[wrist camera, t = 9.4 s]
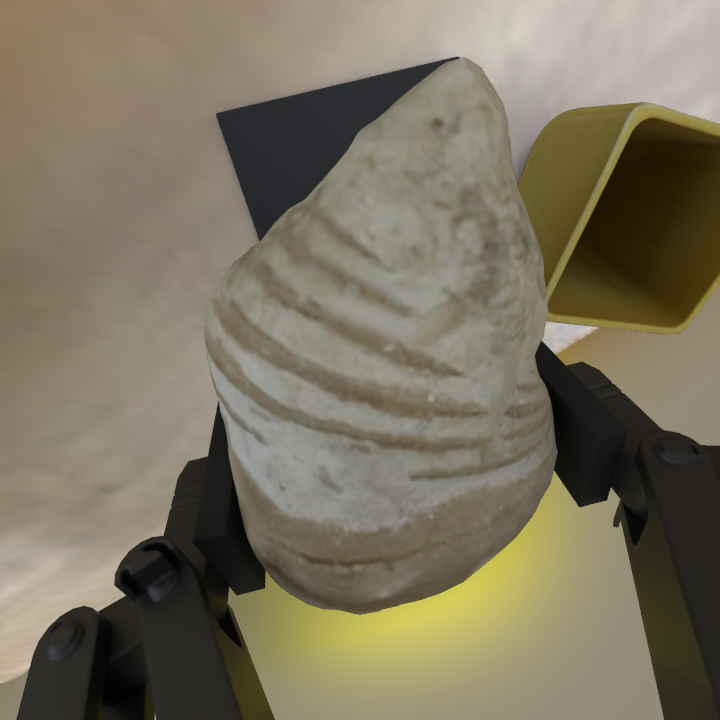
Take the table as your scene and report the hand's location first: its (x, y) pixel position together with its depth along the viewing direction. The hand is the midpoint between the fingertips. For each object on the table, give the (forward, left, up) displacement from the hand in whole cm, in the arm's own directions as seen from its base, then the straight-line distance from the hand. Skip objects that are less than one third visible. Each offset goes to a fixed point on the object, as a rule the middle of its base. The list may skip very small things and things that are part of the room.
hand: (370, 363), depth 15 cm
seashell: (0, 0, 0) cm, 0 cm away
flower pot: (+13, 0, -12) cm, 18 cm away
